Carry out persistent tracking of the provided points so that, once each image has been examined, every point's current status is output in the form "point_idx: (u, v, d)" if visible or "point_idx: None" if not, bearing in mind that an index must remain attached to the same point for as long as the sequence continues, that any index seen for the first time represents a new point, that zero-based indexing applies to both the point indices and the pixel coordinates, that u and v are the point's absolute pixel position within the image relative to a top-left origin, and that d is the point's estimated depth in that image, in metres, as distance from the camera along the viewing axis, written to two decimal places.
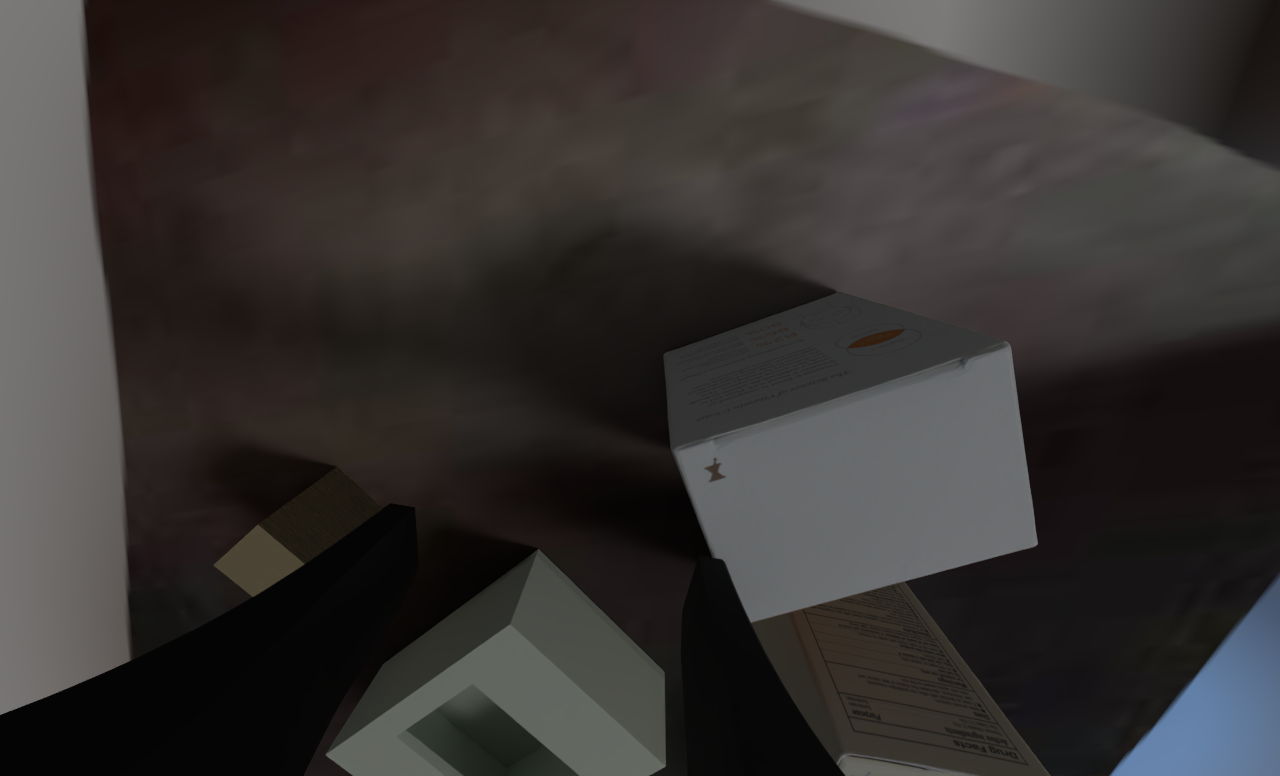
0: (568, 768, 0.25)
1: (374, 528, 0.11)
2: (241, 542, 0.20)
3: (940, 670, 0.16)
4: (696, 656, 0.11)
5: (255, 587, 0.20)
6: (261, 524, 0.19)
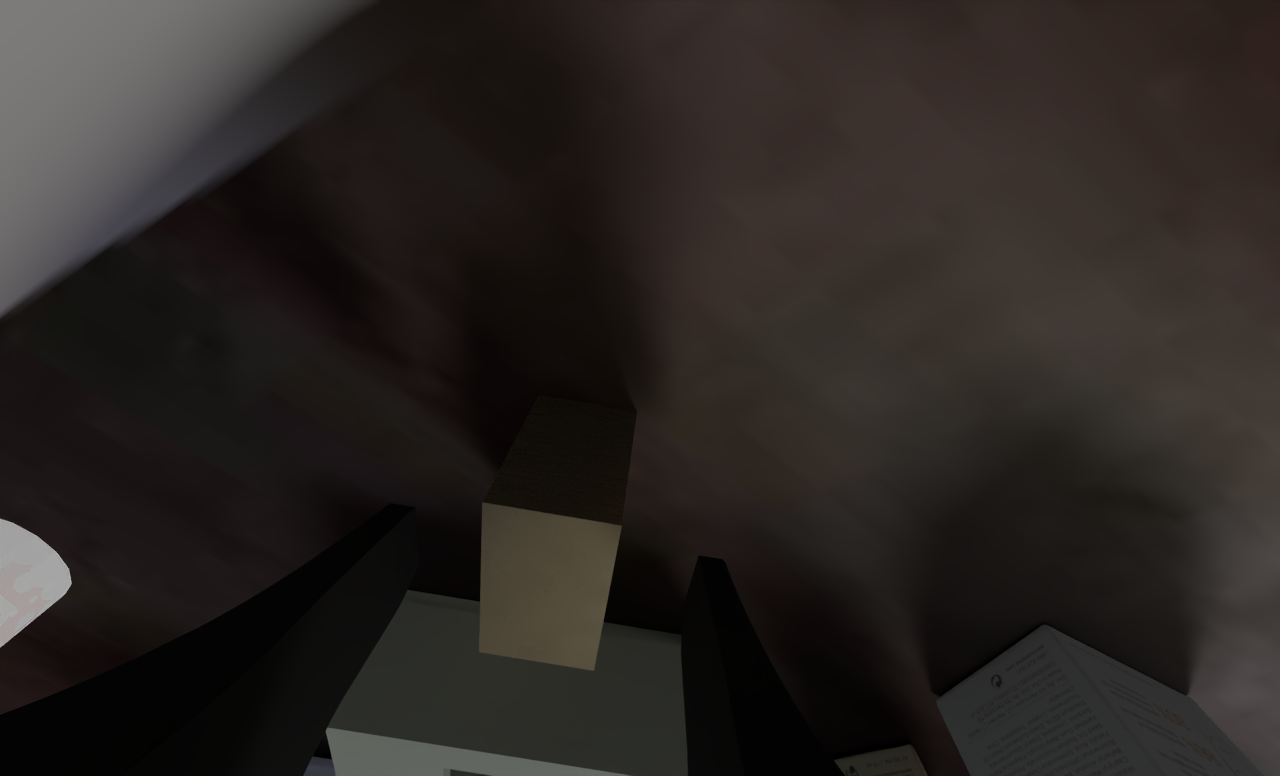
0: None
1: (374, 528, 0.11)
2: (564, 518, 0.11)
3: None
4: (696, 656, 0.11)
5: (500, 564, 0.11)
6: (621, 525, 0.11)
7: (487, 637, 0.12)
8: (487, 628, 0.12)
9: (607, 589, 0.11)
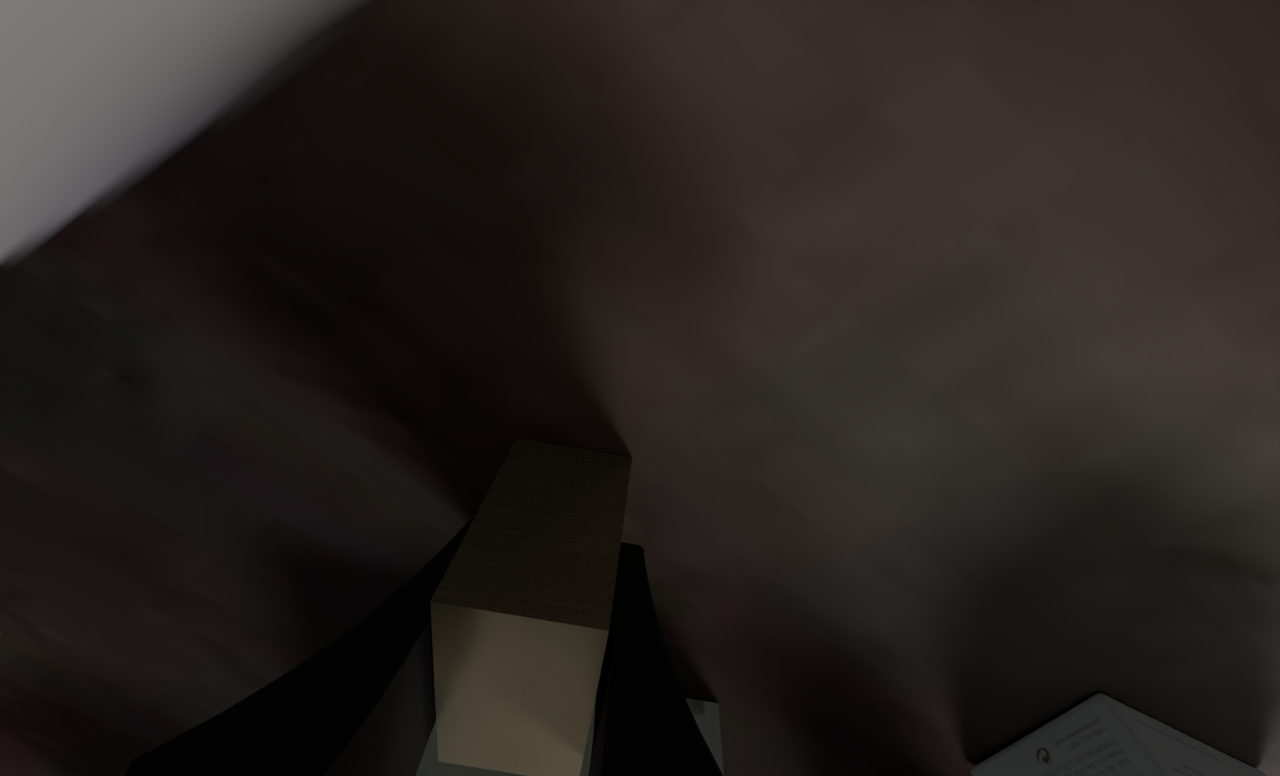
0: None
1: None
2: (536, 620, 0.08)
3: None
4: None
5: (458, 669, 0.09)
6: None
7: (447, 746, 0.10)
8: (447, 736, 0.10)
9: (592, 699, 0.09)
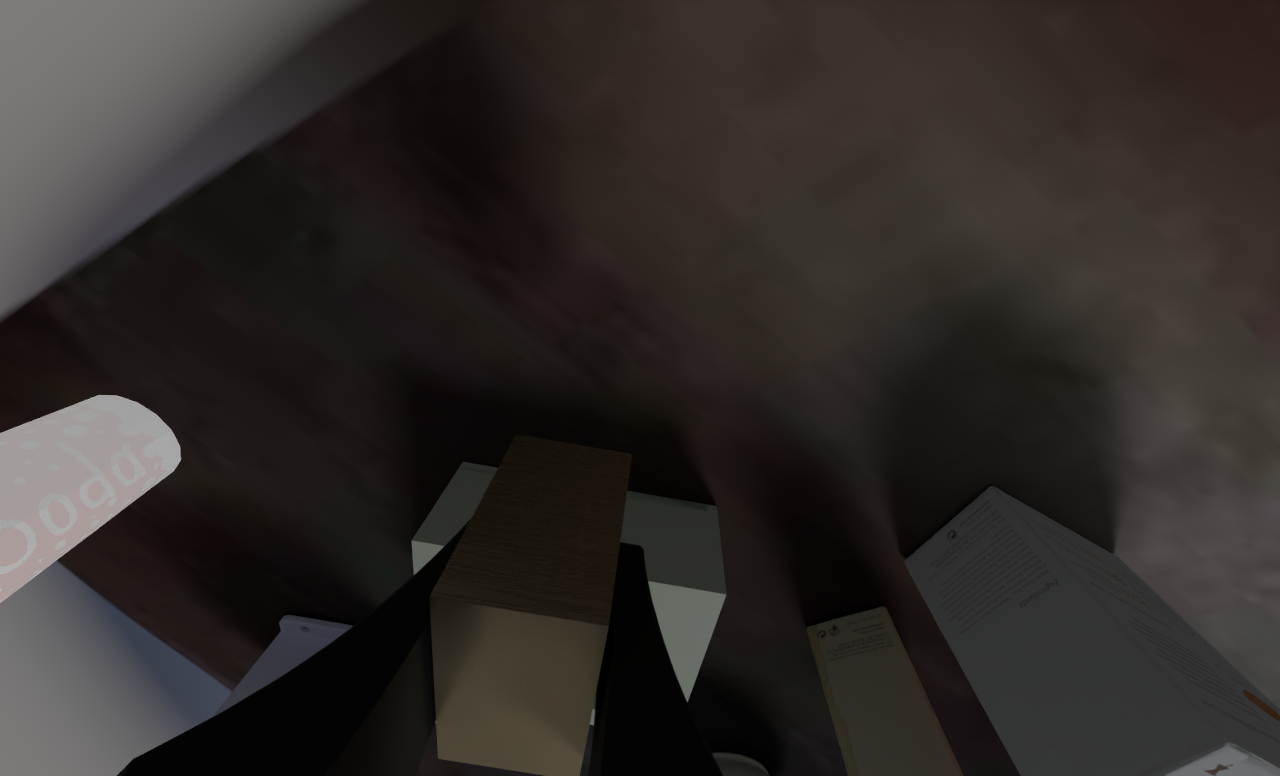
0: None
1: None
2: (535, 616, 0.08)
3: None
4: None
5: (457, 666, 0.09)
6: None
7: (447, 743, 0.10)
8: (447, 734, 0.10)
9: (592, 696, 0.09)
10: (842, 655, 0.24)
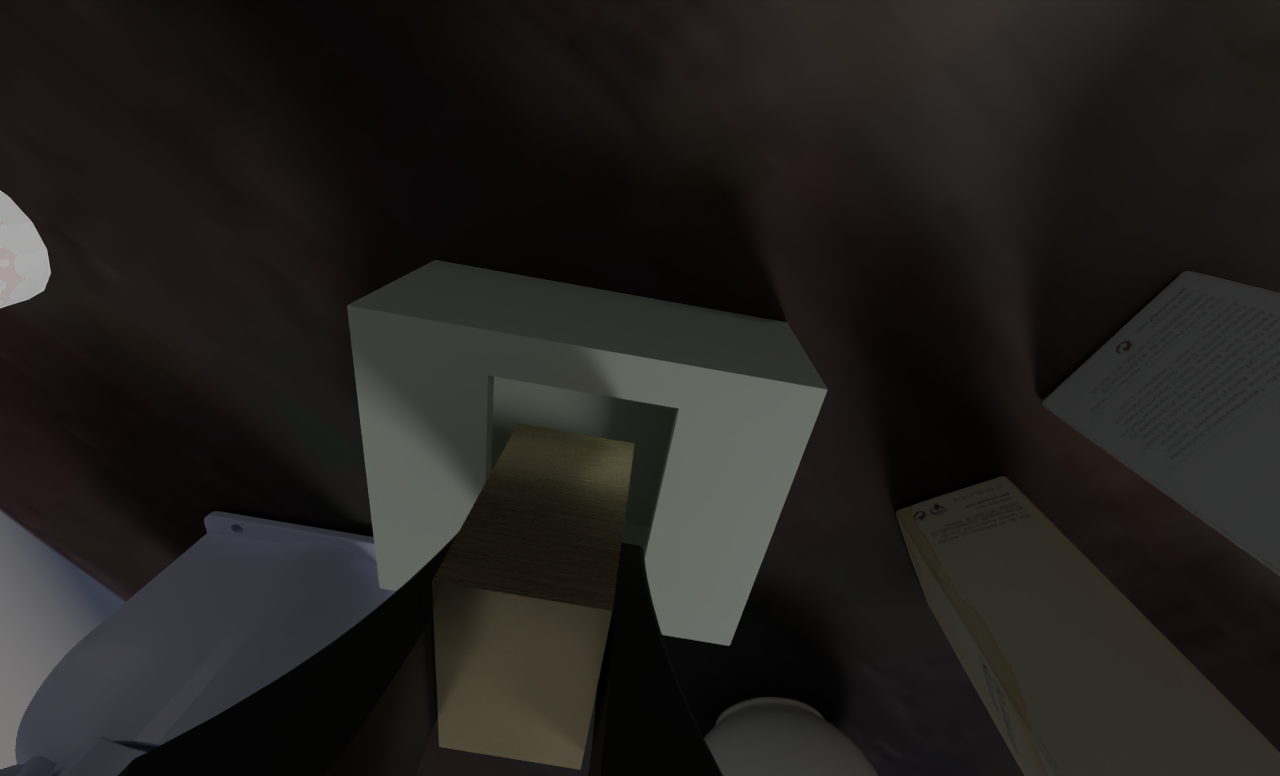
0: None
1: None
2: (539, 600, 0.08)
3: None
4: None
5: (459, 652, 0.09)
6: (612, 609, 0.08)
7: (448, 731, 0.10)
8: (448, 721, 0.10)
9: (595, 682, 0.09)
10: (956, 535, 0.18)
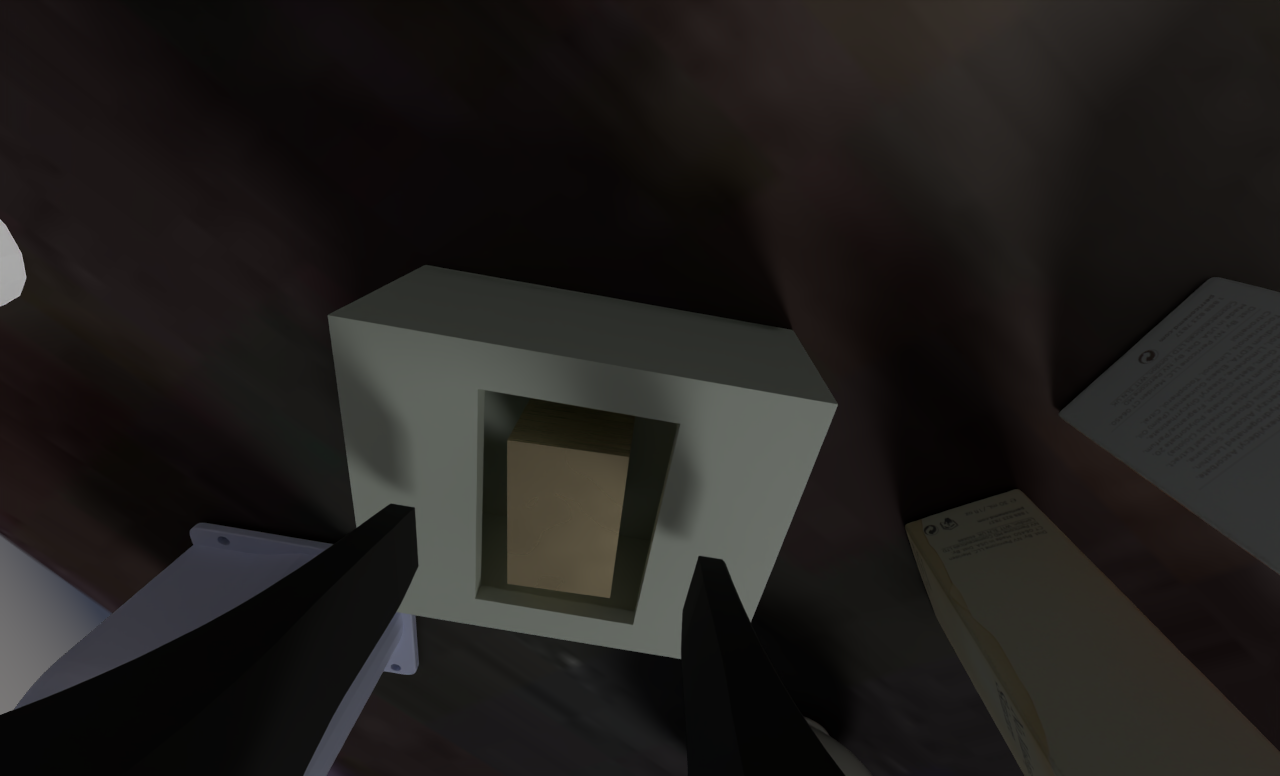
0: None
1: (374, 528, 0.11)
2: (579, 452, 0.12)
3: None
4: (696, 656, 0.11)
5: (524, 498, 0.13)
6: (629, 457, 0.12)
7: (514, 569, 0.14)
8: (514, 560, 0.14)
9: (619, 518, 0.13)
10: (968, 551, 0.17)
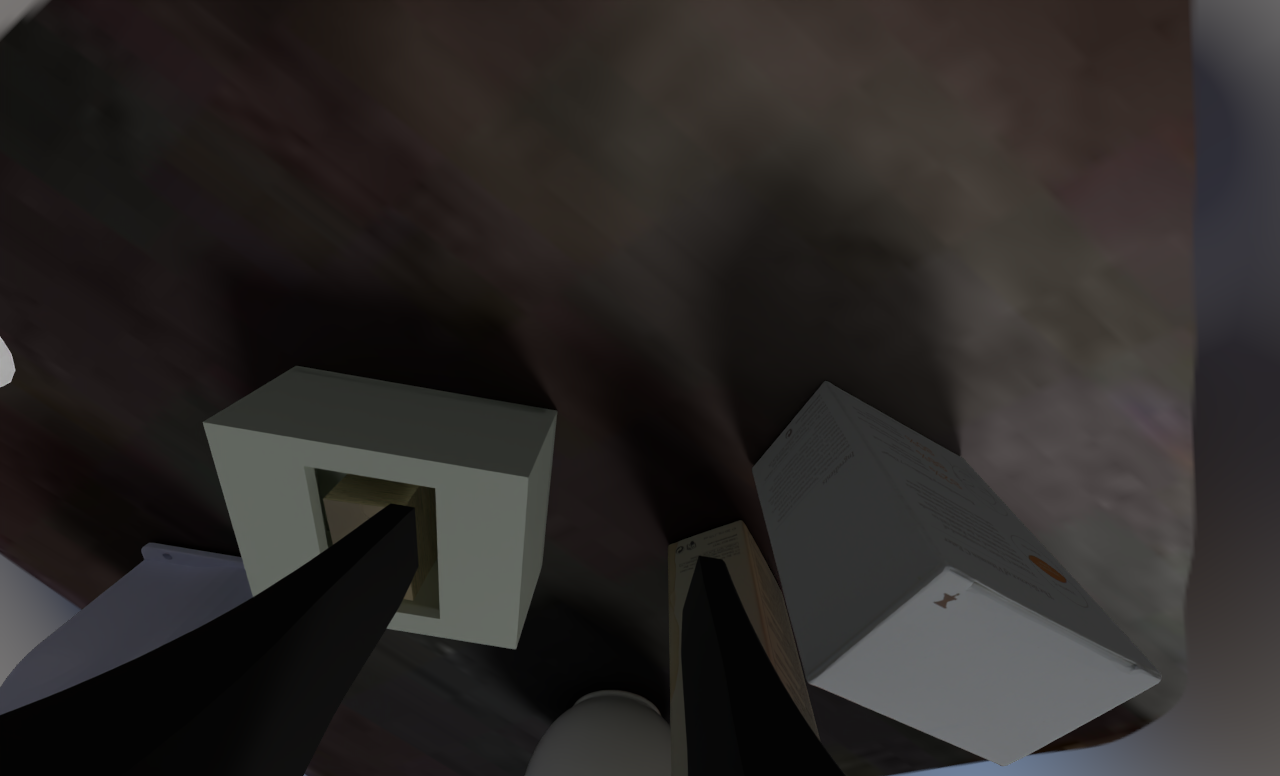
0: None
1: (374, 528, 0.11)
2: (370, 506, 0.19)
3: None
4: (696, 656, 0.11)
5: (341, 534, 0.19)
6: None
7: None
8: None
9: None
10: (692, 566, 0.24)
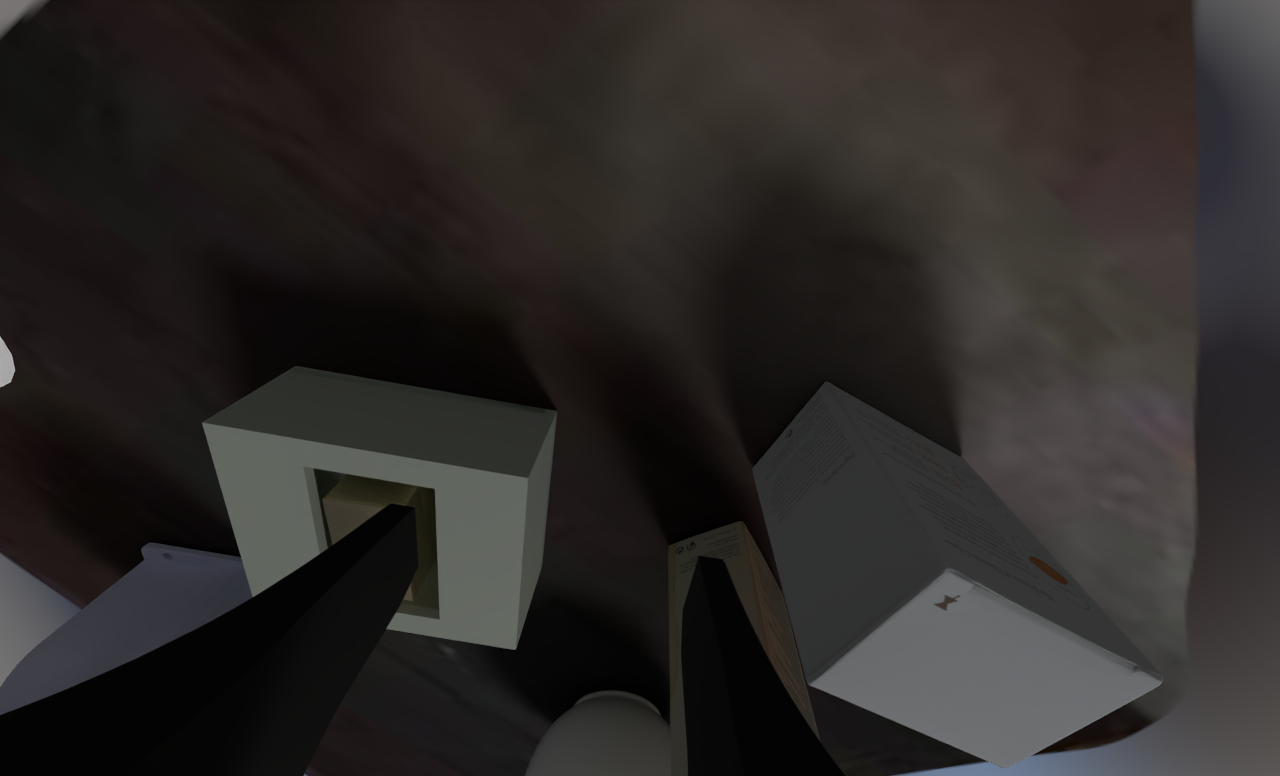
0: None
1: (374, 528, 0.11)
2: (369, 507, 0.19)
3: None
4: (696, 656, 0.11)
5: (341, 535, 0.19)
6: None
7: None
8: None
9: None
10: (692, 567, 0.24)
